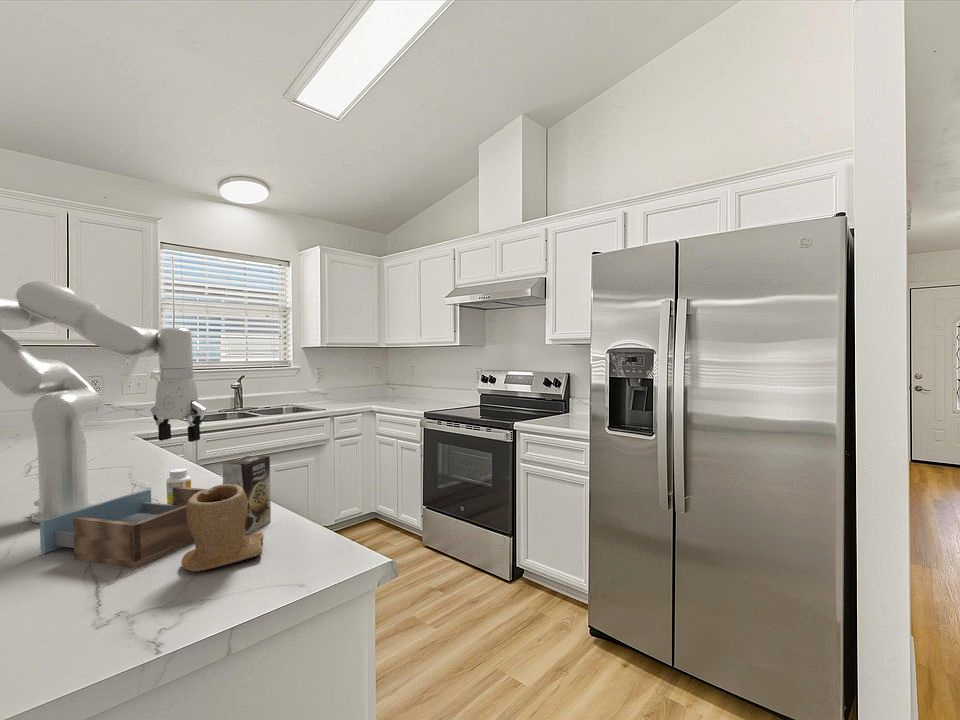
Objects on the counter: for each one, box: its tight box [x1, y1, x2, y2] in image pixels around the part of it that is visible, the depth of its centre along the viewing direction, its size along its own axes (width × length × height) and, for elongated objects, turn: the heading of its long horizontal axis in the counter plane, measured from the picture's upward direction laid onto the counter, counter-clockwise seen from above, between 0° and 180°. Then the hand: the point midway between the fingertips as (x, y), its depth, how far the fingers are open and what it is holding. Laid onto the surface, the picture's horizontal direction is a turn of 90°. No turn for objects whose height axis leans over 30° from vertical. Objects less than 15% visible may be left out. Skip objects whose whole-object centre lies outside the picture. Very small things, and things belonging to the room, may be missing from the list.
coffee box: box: [222, 455, 272, 536], centre depth 117 cm, size 9×6×16 cm
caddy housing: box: [73, 487, 209, 569], centre depth 110 cm, size 16×24×8 cm, turn 163°
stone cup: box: [181, 484, 264, 572], centre depth 98 cm, size 15×12×15 cm
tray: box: [39, 488, 182, 554], centre depth 112 cm, size 16×24×7 cm, turn 163°
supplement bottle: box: [166, 468, 192, 505], centre depth 132 cm, size 6×6×10 cm
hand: (179, 440), depth 132 cm, fingers open, 9 cm apart
